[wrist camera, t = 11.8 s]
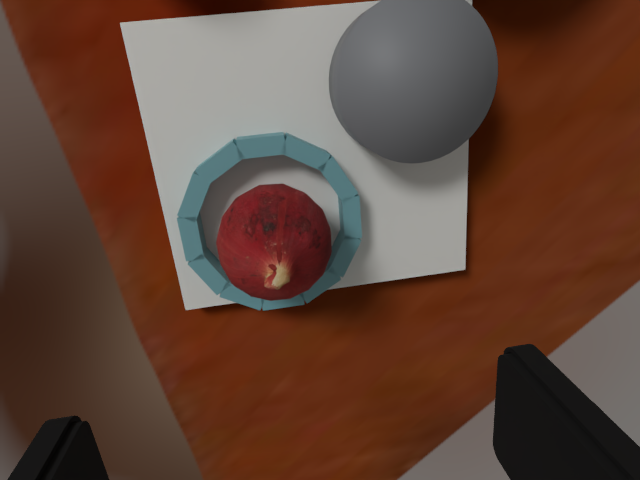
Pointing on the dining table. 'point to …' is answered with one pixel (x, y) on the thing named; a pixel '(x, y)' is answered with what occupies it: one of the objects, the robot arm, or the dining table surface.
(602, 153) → the dining table surface
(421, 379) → the dining table surface
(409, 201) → the carrier plate
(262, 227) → the pomegranate
